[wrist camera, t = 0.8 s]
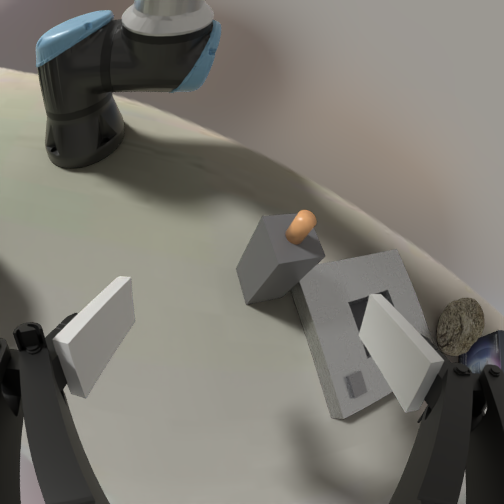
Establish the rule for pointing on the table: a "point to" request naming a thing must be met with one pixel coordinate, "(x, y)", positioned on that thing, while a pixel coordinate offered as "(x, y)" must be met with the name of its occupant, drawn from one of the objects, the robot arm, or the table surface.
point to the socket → (352, 324)
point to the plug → (279, 255)
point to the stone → (460, 326)
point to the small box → (485, 352)
